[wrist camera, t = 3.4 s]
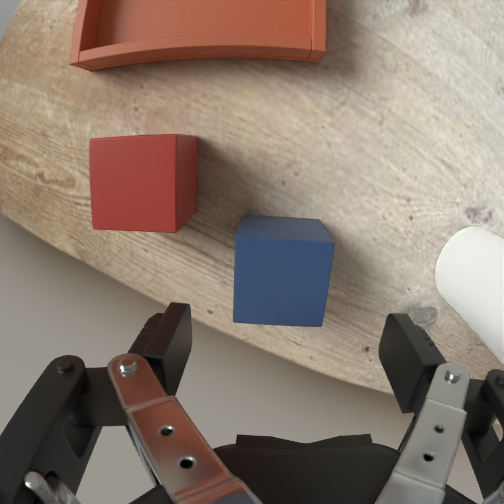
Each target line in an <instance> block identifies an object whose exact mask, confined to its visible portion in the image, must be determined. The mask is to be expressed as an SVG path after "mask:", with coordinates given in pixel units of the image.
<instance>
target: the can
mask: <svg viewBox="0 0 504 504" xmlns="http://www.w3.org/2000/svg"><path fill="white" fill-rule="evenodd" d="M435 281H436V286H437V289H438V291H439V293H440V295H441V296H442V297H443V298H444V300H445V301H446V302H447V303H448V304H449V305H450V306H451V307H452V308H453V309H454V310H455V311H456V312H457V314H458V315H459V316H460V317H461V318H462V319H463V320H464V321H465V322H466V323H467V324H468V326H469V327H470V328H471V329H472V330H473V331H474V332H475V333H476V334H477V336H478V337H479V338H480V339H481V340H482V341H483V342H484V344H485V345H486V346H487V347H488V348H489V349H490V350H491V352H492V353H493V354H494V355H495V356H496V357H497V359H498V360H499V361H500V362H501V363H502V365H503V366H504V239H503V238H501V237H499V236H497V235H495V234H493V233H491V232H489V231H487V230H485V229H483V228H480V227H475V226H473V227H467V228H464V229H462V230H460V231H458V232H457V233H456V234H454V235H453V236H452V237H451V238H450V239H449V240H448V242H447V243H446V244H445V246H444V247H443V249H442V251H441V253H440V255H439V258H438V260H437V263H436V268H435Z"/></svg>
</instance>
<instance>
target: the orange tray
mask: <svg viewBox="0 0 504 504" xmlns="http://www.w3.org/2000/svg"><path fill="white" fill-rule="evenodd" d="M325 52H326V0H79V5H78V9H77V15H76V20H75V26H74V31H73V38H72V45H71V52H70V60H69V65H72V66H76V67H79V68H82V69H85V70H88V71H92V70H97V69H103V68H109V67H115V66H122V65H129V64H137V63H145V62H155V61H166V60H180V59H199V58H259V59H278V60H291V61H303V62H312V63H319V61H320V60H321V58H322V57H323V55H324V54H325Z"/></svg>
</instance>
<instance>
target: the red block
mask: <svg viewBox="0 0 504 504" xmlns="http://www.w3.org/2000/svg"><path fill="white" fill-rule="evenodd" d="M197 150H198V136H194V135H181V134H160V135H137V136H120V137H107V138H95V139H90V143H89V155H90V191H91V208H92V222H93V229H98V230H122V231H145V232H167V233H176V232H177V231H178V230H179V229H180V228H181V227H182V226H183V225H184V224H185V223H186V222H187V221H188V220H189V219H190V218H191V217H192V216H193V215H194V214H195V213H196V202H197Z"/></svg>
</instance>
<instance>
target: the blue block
mask: <svg viewBox="0 0 504 504" xmlns="http://www.w3.org/2000/svg"><path fill="white" fill-rule="evenodd" d="M333 251H334V242H333V240H332V238H331V237H330V235H329V234H328V232H327V231H326V229H325V228H324V226H323V225H322V223H321V222H320V220H319V219H305V218H290V217H274V216H257V215H243V216H242V219H241V222H240V225H239V228H238V231H237V234H236V237H235V267H234V304H233V322H234V323H247V324H263V325H283V326H308V327H321V326H322V322H323V317H324V311H325V305H326V299H327V292H328V286H329V279H330V273H331V266H332V259H333Z"/></svg>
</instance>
